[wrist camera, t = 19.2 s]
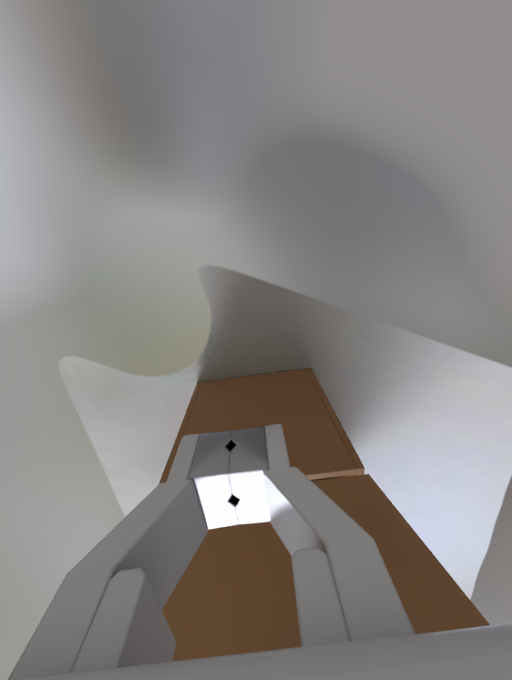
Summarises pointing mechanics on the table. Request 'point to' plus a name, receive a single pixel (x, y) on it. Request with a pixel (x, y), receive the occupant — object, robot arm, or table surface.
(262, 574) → the flap
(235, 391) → the carton
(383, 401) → the table surface
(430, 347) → the table surface
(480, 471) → the table surface
